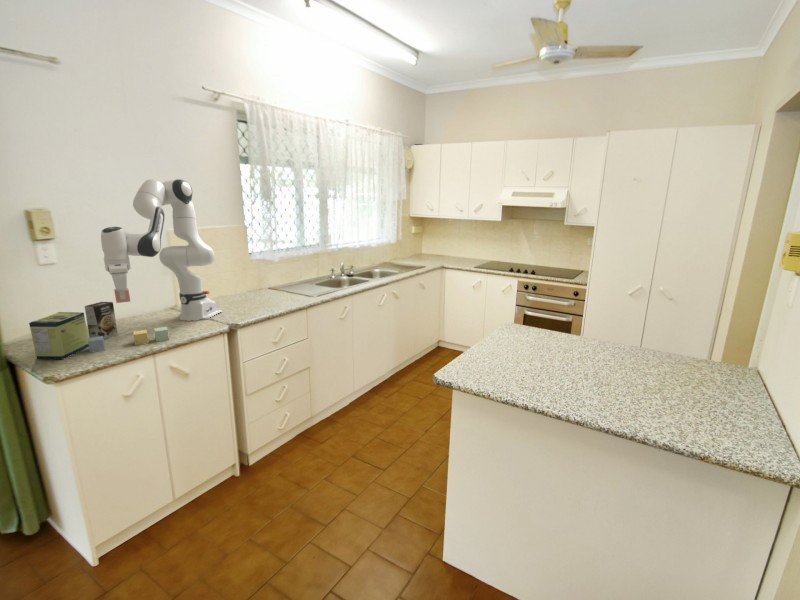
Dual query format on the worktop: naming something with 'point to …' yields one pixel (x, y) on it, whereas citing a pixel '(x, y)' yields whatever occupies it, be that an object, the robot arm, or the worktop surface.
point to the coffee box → (101, 320)
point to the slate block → (96, 343)
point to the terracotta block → (118, 300)
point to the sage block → (161, 334)
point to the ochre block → (140, 337)
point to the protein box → (59, 335)
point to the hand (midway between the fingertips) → (122, 297)
